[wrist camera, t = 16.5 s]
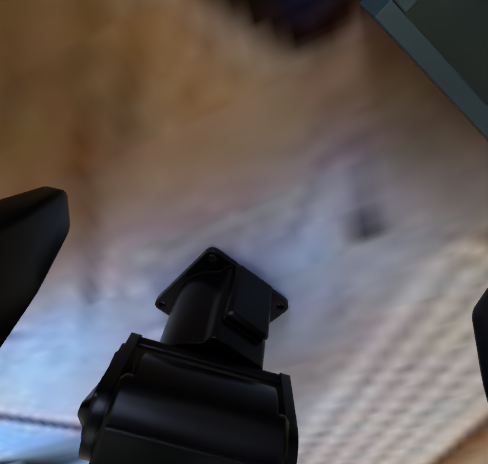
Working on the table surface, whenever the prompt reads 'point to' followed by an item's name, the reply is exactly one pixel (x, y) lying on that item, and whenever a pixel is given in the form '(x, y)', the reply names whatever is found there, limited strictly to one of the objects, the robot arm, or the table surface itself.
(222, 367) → the robot arm
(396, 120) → the table surface
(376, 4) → the basin
